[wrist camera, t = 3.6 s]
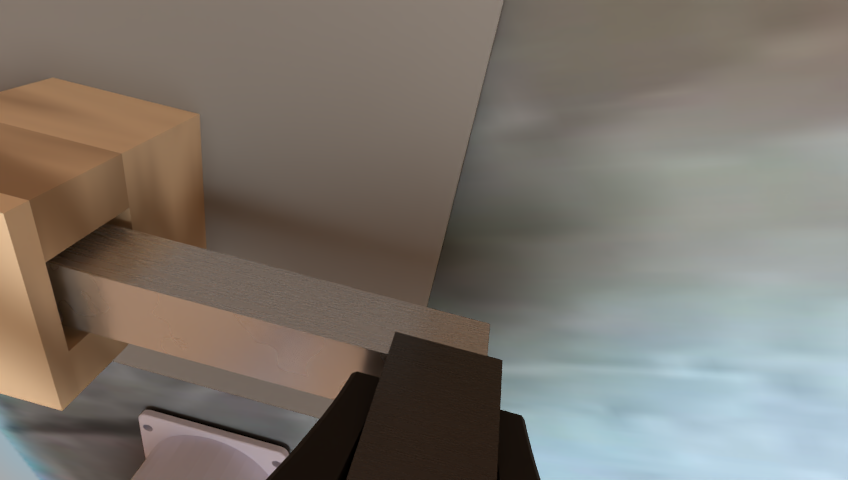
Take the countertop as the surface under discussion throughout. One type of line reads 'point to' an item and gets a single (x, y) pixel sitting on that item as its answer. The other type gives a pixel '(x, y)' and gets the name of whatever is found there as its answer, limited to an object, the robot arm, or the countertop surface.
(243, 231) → the mounting plate
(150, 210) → the bearing block
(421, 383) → the shaft
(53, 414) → the countertop surface
